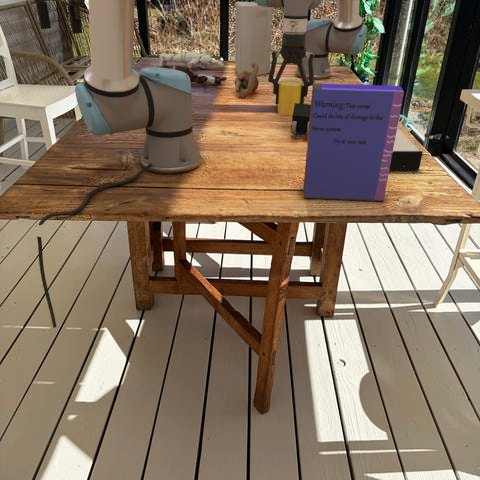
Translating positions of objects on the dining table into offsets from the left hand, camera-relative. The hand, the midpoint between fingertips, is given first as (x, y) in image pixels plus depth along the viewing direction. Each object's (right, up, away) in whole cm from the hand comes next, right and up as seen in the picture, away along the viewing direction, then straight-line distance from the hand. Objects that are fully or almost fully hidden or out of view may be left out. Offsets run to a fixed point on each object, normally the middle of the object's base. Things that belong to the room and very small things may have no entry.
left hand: (61, 31), depth 128 cm
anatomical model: (+50, 0, +56) cm, 75 cm away
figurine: (+27, +7, +68) cm, 73 cm away
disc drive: (+84, -33, +2) cm, 90 cm away
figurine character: (+67, -24, +17) cm, 73 cm away
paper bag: (+54, +20, +90) cm, 107 cm away
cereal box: (+71, -46, -20) cm, 87 cm away
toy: (+26, +25, +96) cm, 102 cm away
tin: (+65, -12, +36) cm, 75 cm away
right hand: (+65, -10, +35) cm, 74 cm away
